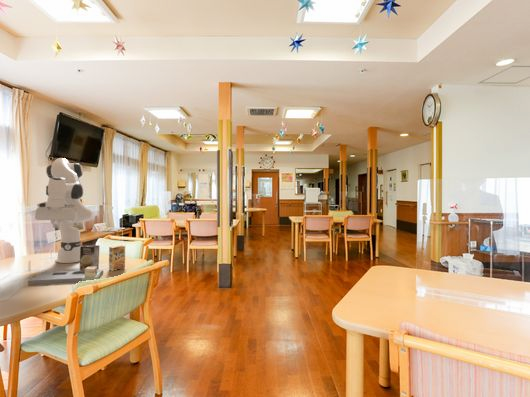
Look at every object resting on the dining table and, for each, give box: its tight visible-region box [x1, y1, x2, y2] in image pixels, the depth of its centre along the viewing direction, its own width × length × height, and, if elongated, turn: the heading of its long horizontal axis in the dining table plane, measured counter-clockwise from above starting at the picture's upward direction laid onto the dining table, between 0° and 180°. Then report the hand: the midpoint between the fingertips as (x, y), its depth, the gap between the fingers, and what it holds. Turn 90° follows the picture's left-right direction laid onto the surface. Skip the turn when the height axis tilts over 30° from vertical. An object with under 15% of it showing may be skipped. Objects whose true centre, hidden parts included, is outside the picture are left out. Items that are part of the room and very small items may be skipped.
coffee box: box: [79, 244, 100, 271], centre depth 178 cm, size 9×6×16 cm
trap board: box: [27, 269, 104, 286], centre depth 160 cm, size 16×32×2 cm, turn 108°
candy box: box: [108, 244, 126, 272], centre depth 182 cm, size 9×4×15 cm, turn 150°
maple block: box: [85, 267, 97, 277], centre depth 160 cm, size 5×5×4 cm
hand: (56, 227), depth 163 cm, fingers closed
